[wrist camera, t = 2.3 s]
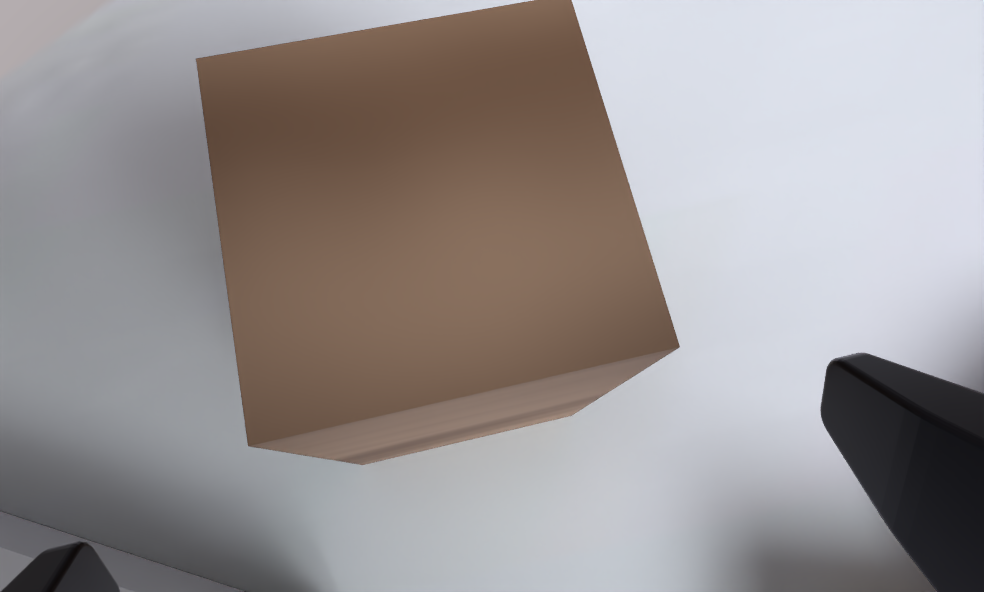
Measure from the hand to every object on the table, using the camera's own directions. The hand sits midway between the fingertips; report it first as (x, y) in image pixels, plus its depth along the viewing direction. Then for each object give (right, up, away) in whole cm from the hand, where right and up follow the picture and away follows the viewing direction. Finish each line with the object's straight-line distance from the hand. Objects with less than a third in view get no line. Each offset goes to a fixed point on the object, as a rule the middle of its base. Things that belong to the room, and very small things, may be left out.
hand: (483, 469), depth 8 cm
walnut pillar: (-1, +1, +11) cm, 11 cm away
